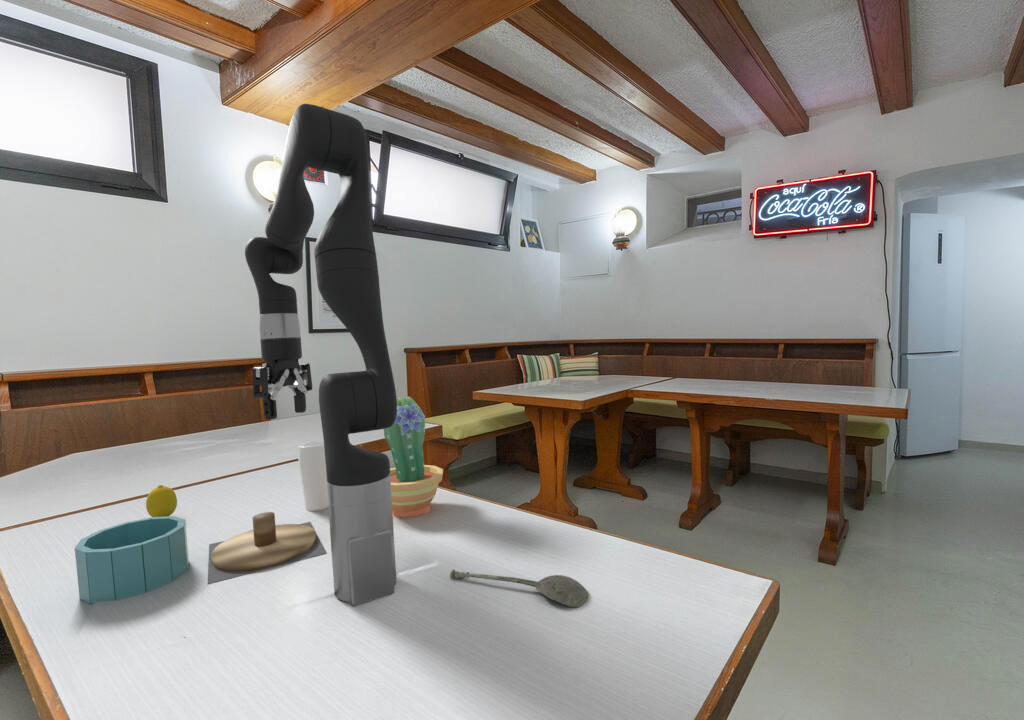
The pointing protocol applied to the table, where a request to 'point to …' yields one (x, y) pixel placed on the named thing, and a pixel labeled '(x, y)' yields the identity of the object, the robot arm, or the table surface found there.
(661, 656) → the table surface
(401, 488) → the potted cactus
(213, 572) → the mat
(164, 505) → the lemon
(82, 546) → the bowl
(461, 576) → the soupspoon
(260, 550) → the lid
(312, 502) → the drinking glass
